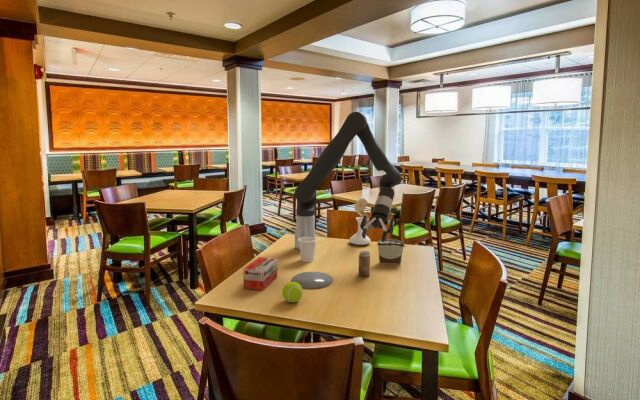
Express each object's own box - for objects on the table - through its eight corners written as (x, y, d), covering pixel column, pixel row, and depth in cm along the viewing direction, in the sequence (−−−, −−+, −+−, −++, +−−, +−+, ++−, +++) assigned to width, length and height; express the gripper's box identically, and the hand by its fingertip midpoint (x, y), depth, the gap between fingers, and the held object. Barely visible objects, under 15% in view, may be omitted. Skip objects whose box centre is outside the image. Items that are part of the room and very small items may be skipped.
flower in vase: (345, 241, 209) (346, 195, 204) (365, 239, 212) (366, 194, 208) (355, 248, 196) (356, 199, 192) (375, 246, 200) (377, 198, 195)
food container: (402, 260, 179) (403, 239, 177) (403, 264, 173) (404, 242, 171) (375, 258, 180) (376, 238, 179) (376, 263, 174) (376, 241, 173)
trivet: (284, 283, 150) (284, 281, 150) (304, 271, 164) (304, 269, 164) (321, 291, 143) (321, 289, 143) (339, 277, 157) (339, 275, 157)
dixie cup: (314, 263, 173) (314, 242, 172) (296, 262, 175) (296, 240, 173) (318, 257, 181) (318, 237, 180) (300, 256, 183) (300, 236, 181)
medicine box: (263, 291, 143) (262, 271, 142) (243, 289, 145) (242, 268, 144) (278, 277, 157) (278, 258, 156) (259, 275, 160) (259, 256, 158)
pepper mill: (356, 276, 158) (357, 252, 157) (360, 272, 162) (361, 249, 161) (367, 278, 156) (367, 254, 155) (371, 274, 160) (371, 251, 159)
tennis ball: (279, 299, 136) (279, 280, 135) (298, 296, 139) (298, 277, 138) (286, 307, 130) (286, 287, 129) (305, 303, 133) (305, 284, 132)
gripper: (365, 201, 174) (355, 232, 166) (396, 204, 168) (387, 236, 160) (369, 211, 180) (359, 241, 172) (399, 214, 173) (390, 245, 165)
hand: (373, 238), depth 166 cm, fingers open, 8 cm apart
